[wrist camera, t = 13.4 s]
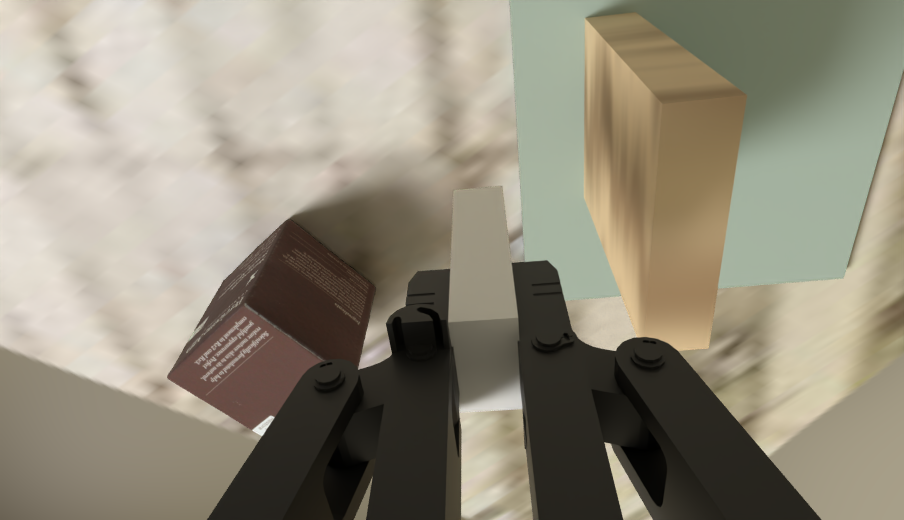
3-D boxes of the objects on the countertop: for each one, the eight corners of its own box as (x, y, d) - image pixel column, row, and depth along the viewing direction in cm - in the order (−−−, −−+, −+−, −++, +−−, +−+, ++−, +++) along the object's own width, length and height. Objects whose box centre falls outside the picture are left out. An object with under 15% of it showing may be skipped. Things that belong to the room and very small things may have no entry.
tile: (584, 17, 24) (662, 103, 14) (639, 11, 24) (753, 94, 14) (583, 197, 28) (643, 353, 19) (630, 193, 28) (713, 347, 18)
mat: (500, -154, 21) (501, -155, 21) (974, -220, 20) (987, -223, 19) (526, 297, 32) (527, 303, 31) (837, 271, 31) (843, 278, 30)
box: (291, 213, 29) (244, 301, 23) (380, 286, 32) (359, 384, 26) (220, 282, 32) (161, 378, 26) (308, 345, 34) (273, 448, 28)
